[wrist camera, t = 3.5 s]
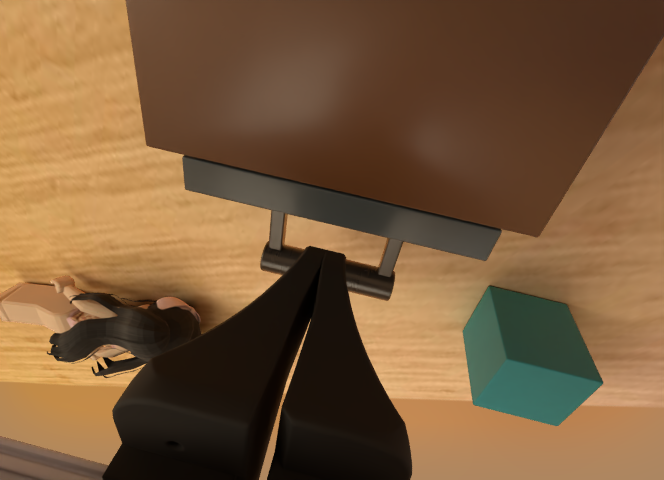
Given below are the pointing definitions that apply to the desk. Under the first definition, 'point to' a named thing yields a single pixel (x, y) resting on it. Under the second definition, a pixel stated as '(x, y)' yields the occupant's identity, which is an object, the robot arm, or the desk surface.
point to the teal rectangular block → (527, 357)
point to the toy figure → (100, 323)
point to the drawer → (338, 221)
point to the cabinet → (396, 93)
